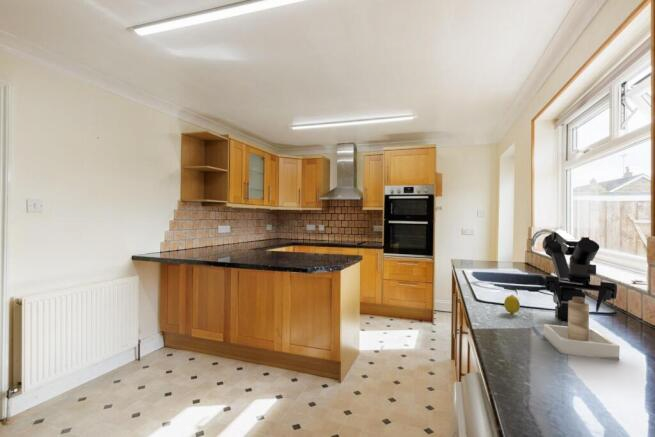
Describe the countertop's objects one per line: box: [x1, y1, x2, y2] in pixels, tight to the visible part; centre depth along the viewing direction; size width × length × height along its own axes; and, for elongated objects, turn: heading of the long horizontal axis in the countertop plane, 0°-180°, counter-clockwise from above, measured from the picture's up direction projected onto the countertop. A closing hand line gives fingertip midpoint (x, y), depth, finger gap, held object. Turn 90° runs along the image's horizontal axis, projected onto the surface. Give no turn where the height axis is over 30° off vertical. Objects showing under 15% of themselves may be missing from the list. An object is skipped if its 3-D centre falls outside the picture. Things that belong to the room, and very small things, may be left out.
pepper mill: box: [567, 297, 590, 341], centre depth 97 cm, size 5×5×14 cm
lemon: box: [503, 294, 521, 315], centre depth 129 cm, size 6×6×8 cm
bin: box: [543, 323, 620, 361], centre depth 97 cm, size 14×14×4 cm
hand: (578, 308), depth 101 cm, fingers open, 9 cm apart
